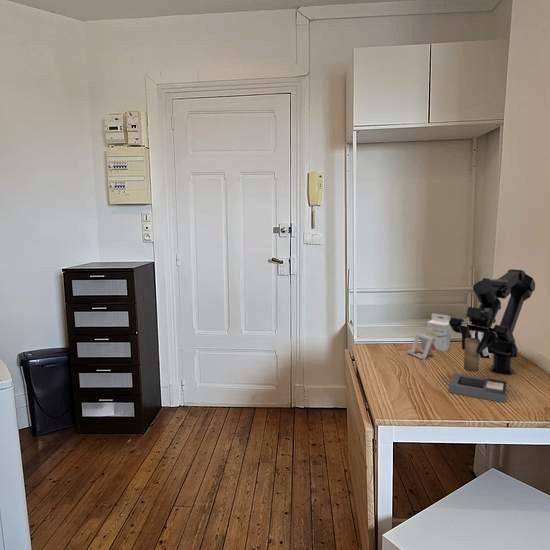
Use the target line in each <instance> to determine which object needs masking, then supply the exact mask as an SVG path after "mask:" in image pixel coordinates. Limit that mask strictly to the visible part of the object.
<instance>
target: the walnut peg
mask: <svg viewBox="0 0 550 550" xmlns="http://www.w3.org/2000/svg"><path fill="white" fill-rule="evenodd" d="M479 344H480V340H479V339H476V338H472V337H471V338H466V339H465V349H464V350H463V351H464V354H463V370H465V371H466V372H471V373H477V372H479V369H480V357H479V353H477V352H476V351H477V348H478V346H479Z"/></svg>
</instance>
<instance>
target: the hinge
mask: <svg viewBox="0 0 550 550" xmlns="http://www.w3.org/2000/svg"><path fill="white" fill-rule="evenodd" d="M483 334H484V333H482V332H477V331H472V333H471V336H472V337H471V338H476V339H479V340H480V342H481V340H482V338H483ZM491 355H493V354H492V353H488V348H487V347H486V348H485V349H484V350H482V351H481V352H480V353H479V358H481V357H482V356H483V357H487V356H488V357H489V359H490V358H491V359H492V357H491Z"/></svg>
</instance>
